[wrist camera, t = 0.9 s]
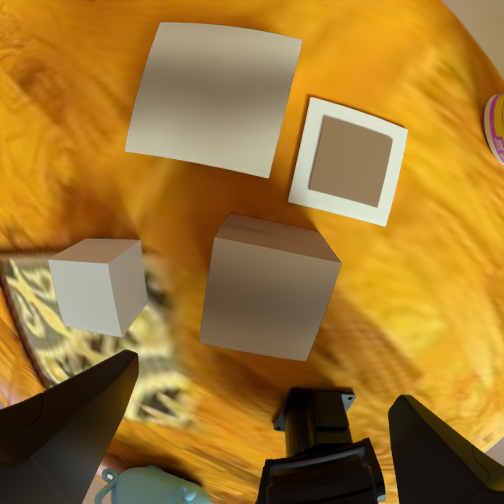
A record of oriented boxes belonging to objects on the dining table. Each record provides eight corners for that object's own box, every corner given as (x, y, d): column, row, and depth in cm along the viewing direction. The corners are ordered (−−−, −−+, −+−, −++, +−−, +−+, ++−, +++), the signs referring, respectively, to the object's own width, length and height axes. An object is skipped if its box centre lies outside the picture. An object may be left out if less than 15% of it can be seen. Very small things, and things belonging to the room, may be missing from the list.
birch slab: (267, 174, 18) (268, 178, 14) (150, 151, 17) (124, 151, 14) (294, 62, 15) (302, 40, 11) (178, 45, 15) (160, 22, 11)
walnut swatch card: (383, 225, 18) (386, 227, 18) (287, 201, 18) (288, 202, 17) (406, 130, 16) (409, 129, 15) (310, 97, 16) (311, 96, 15)
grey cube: (148, 301, 21) (122, 337, 16) (96, 295, 21) (64, 326, 16) (141, 239, 19) (107, 263, 14) (86, 238, 19) (48, 259, 15)
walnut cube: (295, 309, 20) (306, 361, 15) (215, 293, 20) (198, 342, 15) (318, 231, 19) (341, 263, 13) (229, 212, 18) (214, 236, 13)
